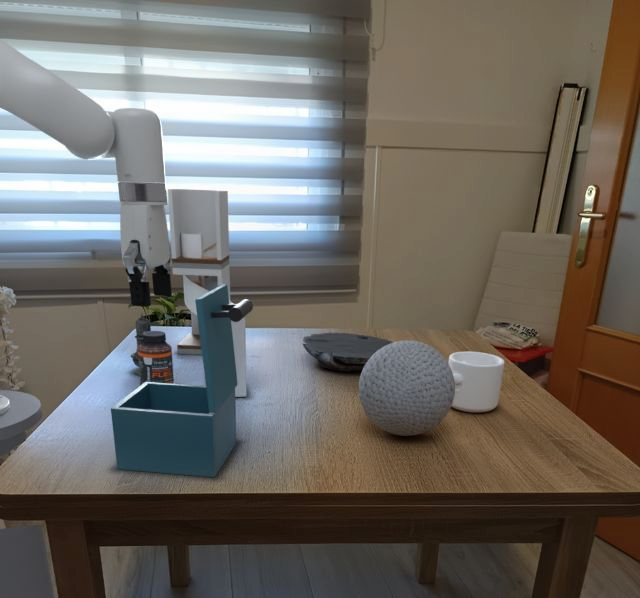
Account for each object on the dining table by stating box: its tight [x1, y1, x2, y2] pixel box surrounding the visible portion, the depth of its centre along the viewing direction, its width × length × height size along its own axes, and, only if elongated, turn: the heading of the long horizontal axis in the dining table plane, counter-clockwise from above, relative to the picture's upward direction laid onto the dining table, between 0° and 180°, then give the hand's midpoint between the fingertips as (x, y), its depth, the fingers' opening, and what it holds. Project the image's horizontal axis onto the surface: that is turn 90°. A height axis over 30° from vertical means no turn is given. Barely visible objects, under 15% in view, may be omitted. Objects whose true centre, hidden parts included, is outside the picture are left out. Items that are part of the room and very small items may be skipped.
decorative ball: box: [358, 339, 455, 437], centre depth 90 cm, size 15×15×15 cm
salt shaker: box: [130, 313, 152, 376], centre depth 116 cm, size 6×6×12 cm
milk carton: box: [203, 299, 247, 398], centre depth 105 cm, size 7×7×19 cm
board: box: [302, 332, 395, 372], centre depth 127 cm, size 22×22×5 cm
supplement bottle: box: [138, 330, 175, 386], centre depth 105 cm, size 6×6×11 cm
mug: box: [447, 351, 506, 414], centre depth 105 cm, size 12×10×9 cm
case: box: [110, 382, 237, 478], centre depth 81 cm, size 14×12×9 cm
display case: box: [167, 188, 231, 355], centre depth 130 cm, size 11×11×35 cm
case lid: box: [195, 285, 254, 413], centre depth 75 cm, size 14×12×5 cm
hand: (152, 300), depth 100 cm, fingers open, 9 cm apart
